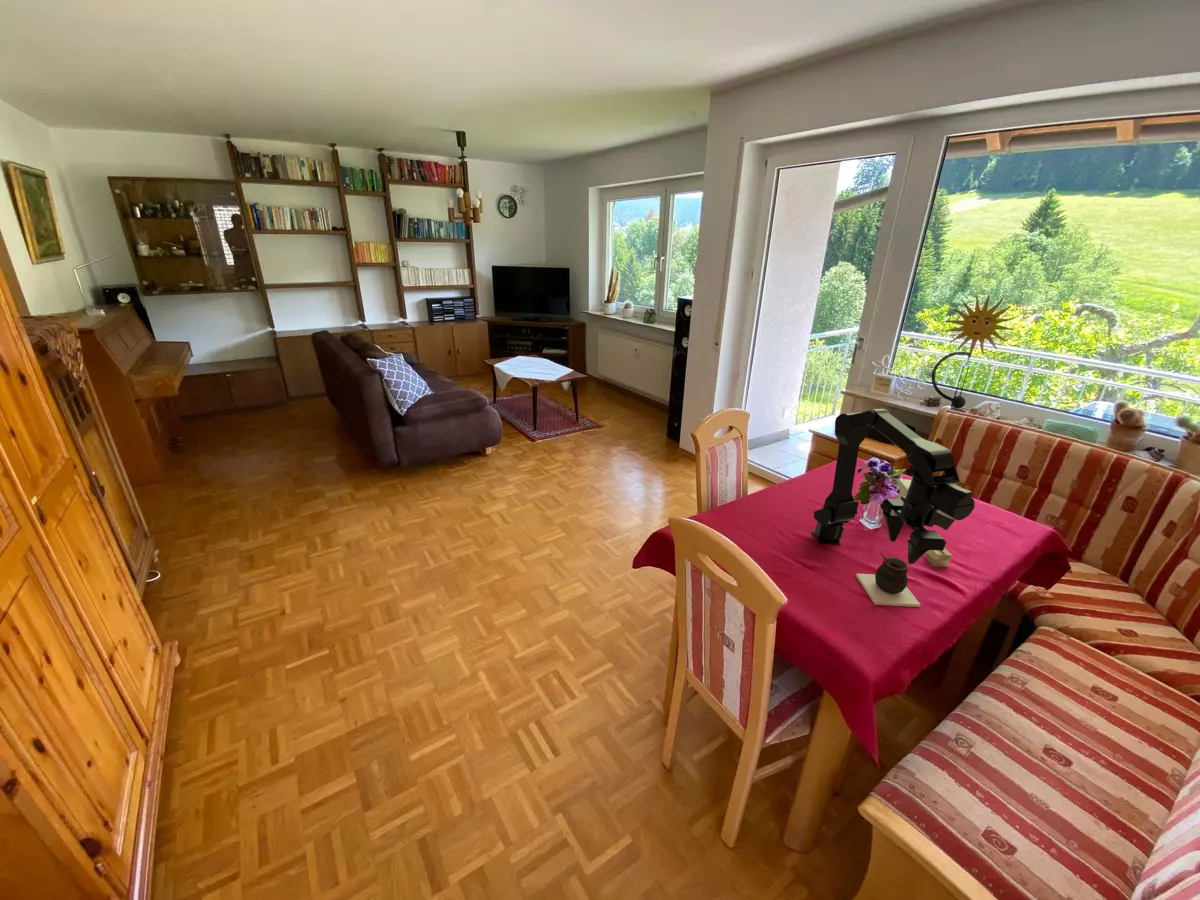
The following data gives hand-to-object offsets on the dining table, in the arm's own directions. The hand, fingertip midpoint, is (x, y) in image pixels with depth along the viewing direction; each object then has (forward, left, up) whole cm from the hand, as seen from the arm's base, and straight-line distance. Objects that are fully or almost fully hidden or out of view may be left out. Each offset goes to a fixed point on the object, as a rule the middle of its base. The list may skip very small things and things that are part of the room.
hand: (901, 551), depth 122 cm
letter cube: (+20, +13, -12) cm, 27 cm away
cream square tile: (-1, -1, -12) cm, 12 cm away
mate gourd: (-1, -1, -11) cm, 11 cm away
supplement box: (+22, +36, -12) cm, 44 cm away
